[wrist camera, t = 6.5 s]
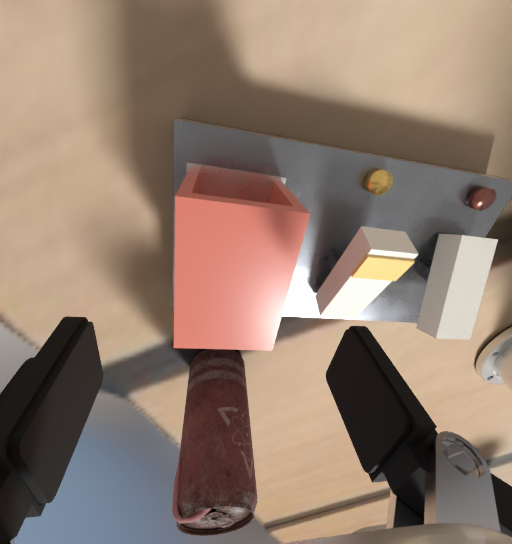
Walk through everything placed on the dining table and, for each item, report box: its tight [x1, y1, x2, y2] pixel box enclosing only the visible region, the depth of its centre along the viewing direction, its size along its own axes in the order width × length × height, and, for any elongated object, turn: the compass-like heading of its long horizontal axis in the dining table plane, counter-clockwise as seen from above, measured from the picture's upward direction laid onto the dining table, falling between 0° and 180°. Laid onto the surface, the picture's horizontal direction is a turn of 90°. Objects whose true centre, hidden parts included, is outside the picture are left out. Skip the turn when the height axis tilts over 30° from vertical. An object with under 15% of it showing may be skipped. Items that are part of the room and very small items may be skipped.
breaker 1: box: [315, 226, 419, 318], centre depth 19 cm, size 3×8×2 cm, turn 170°
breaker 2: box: [416, 234, 498, 340], centre depth 21 cm, size 3×8×2 cm, turn 170°
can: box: [172, 349, 257, 536], centre depth 24 cm, size 6×6×14 cm
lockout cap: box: [174, 168, 310, 351], centre depth 16 cm, size 6×9×6 cm, turn 170°
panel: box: [173, 118, 512, 323], centre depth 21 cm, size 25×14×4 cm, turn 80°
